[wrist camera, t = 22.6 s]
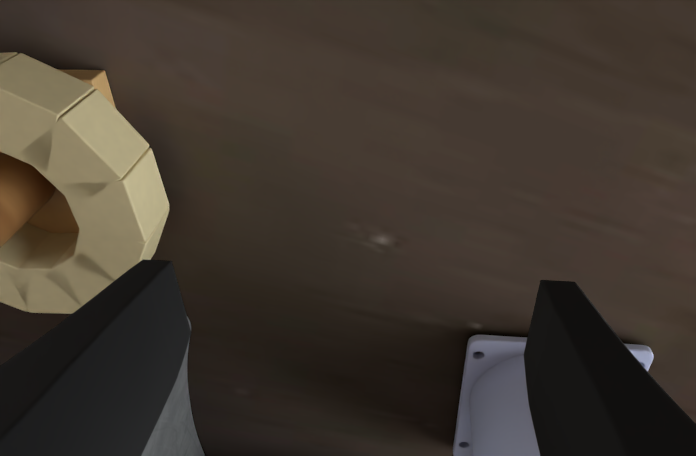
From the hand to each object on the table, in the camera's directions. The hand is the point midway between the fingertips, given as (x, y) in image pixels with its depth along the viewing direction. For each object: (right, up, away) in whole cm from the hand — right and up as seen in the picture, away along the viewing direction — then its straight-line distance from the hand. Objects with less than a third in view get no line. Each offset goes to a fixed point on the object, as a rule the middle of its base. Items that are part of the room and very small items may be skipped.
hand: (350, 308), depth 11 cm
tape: (-12, +4, +11) cm, 17 cm away
